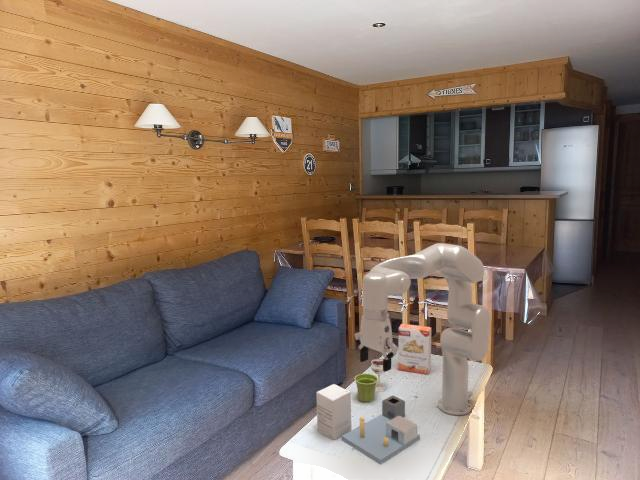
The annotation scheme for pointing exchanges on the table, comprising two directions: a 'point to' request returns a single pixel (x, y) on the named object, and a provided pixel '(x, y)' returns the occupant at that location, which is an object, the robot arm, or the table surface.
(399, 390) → the table surface
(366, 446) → the assembly board
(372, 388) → the plant pot
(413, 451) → the table surface
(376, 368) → the wineglass
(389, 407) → the block
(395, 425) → the housing cover
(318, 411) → the supplement box
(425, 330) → the cracker box
